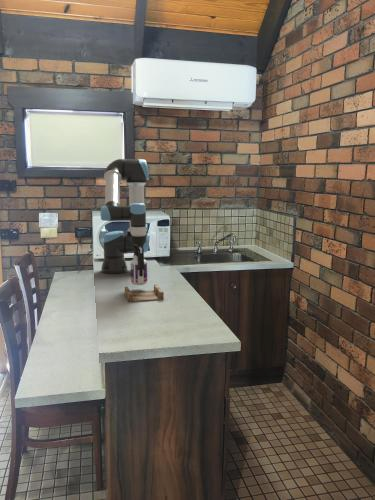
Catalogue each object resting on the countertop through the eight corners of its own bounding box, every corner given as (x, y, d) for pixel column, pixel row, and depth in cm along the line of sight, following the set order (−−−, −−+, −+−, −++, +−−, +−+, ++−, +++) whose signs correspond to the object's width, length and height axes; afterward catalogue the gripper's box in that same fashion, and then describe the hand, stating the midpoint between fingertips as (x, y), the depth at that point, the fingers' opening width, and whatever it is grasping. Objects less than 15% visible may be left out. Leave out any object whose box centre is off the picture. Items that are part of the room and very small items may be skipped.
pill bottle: (150, 282, 214) (149, 254, 211) (142, 286, 207) (141, 257, 204) (136, 280, 217) (136, 253, 214) (127, 284, 210) (127, 256, 207)
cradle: (124, 293, 206) (124, 286, 206) (156, 291, 211) (156, 284, 210) (129, 302, 193) (129, 295, 192) (163, 299, 198) (163, 292, 197)
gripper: (127, 232, 216) (128, 275, 220) (134, 238, 196) (135, 286, 201) (141, 231, 218) (142, 274, 222) (150, 238, 199) (150, 285, 203)
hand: (139, 280), depth 212 cm, fingers closed on pill bottle, 8 cm apart
